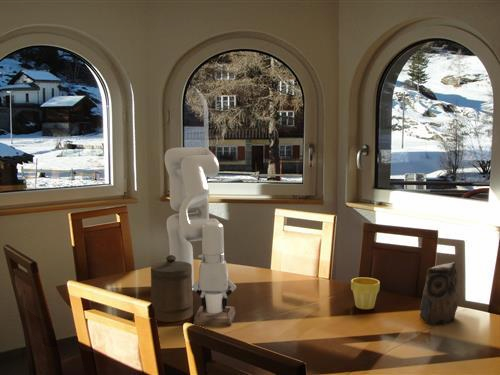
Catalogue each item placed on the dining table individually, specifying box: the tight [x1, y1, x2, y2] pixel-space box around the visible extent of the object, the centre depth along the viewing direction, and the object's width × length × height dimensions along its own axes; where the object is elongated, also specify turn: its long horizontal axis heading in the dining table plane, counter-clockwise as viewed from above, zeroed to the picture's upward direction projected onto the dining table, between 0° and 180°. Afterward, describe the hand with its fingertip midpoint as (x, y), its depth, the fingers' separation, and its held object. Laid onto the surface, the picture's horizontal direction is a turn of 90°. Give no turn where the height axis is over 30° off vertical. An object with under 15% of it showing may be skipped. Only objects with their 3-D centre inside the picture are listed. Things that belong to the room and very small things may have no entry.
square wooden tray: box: [192, 305, 236, 327], centre depth 196 cm, size 13×13×2 cm
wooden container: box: [150, 254, 194, 323], centre depth 200 cm, size 15×15×22 cm
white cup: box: [205, 291, 223, 313], centre depth 195 cm, size 7×7×7 cm
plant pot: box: [350, 277, 381, 310], centre depth 206 cm, size 10×10×10 cm
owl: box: [419, 261, 459, 327], centre depth 190 cm, size 13×13×20 cm
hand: (214, 307), depth 196 cm, fingers closed on white cup, 6 cm apart
